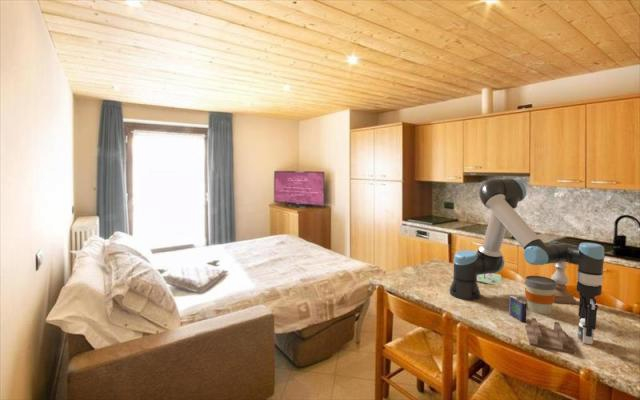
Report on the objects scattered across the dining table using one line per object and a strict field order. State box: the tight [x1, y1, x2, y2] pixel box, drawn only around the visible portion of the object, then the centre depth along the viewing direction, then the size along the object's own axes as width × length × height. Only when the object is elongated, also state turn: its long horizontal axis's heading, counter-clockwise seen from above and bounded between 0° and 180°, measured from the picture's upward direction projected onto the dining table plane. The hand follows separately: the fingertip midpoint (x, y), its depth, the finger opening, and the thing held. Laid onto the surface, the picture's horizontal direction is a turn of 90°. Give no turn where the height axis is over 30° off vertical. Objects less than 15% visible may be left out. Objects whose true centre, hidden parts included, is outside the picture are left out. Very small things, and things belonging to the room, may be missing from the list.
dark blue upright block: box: [508, 295, 528, 324], centre depth 147 cm, size 9×3×11 cm, turn 8°
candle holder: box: [550, 262, 577, 305], centre depth 167 cm, size 11×11×24 cm
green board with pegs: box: [477, 273, 502, 285], centre depth 201 cm, size 25×21×9 cm
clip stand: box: [524, 317, 576, 355], centre depth 129 cm, size 16×14×4 cm
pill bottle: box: [577, 318, 595, 344], centre depth 128 cm, size 5×5×8 cm
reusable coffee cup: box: [524, 275, 556, 315], centre depth 155 cm, size 13×13×15 cm
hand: (585, 339), depth 128 cm, fingers closed on pill bottle, 5 cm apart
